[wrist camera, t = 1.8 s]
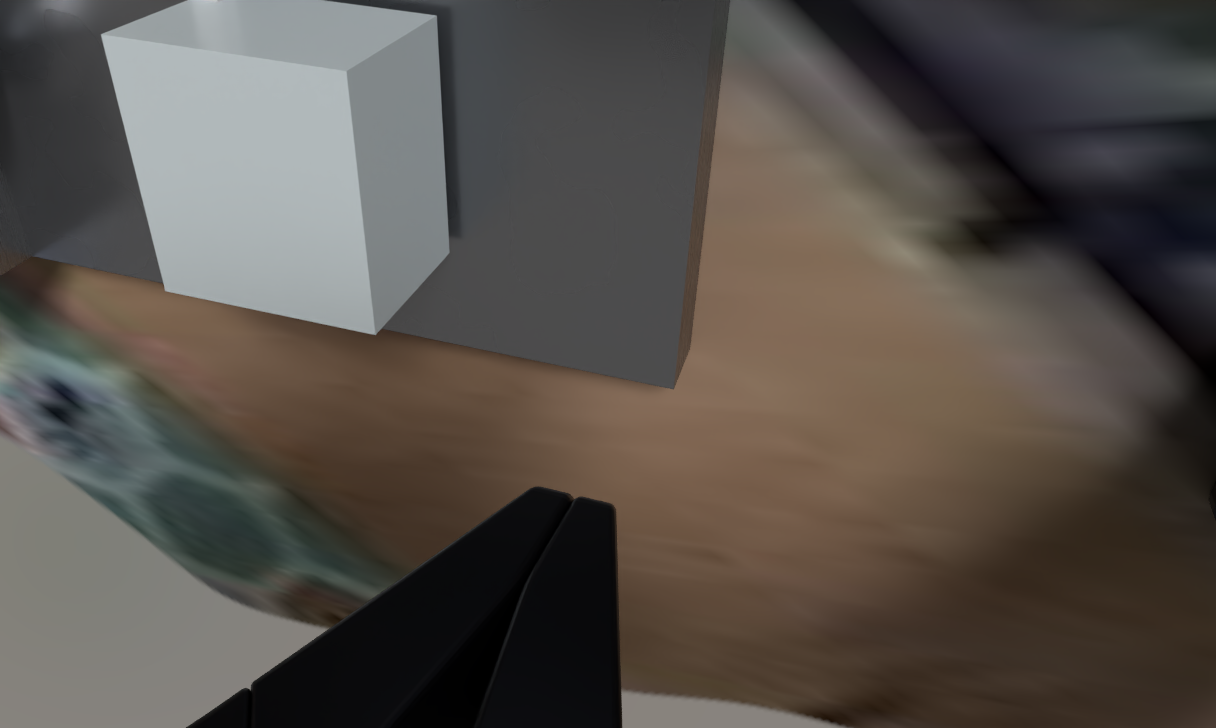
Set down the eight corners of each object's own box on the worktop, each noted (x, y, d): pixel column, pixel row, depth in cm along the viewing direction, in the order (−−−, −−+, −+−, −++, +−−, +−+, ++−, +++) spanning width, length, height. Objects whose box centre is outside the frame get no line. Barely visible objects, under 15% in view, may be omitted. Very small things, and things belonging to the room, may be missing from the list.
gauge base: (753, -205, 14) (679, -169, 11) (689, 348, 20) (627, 507, 16) (-158, -277, 18) (-471, -269, 14) (9, 213, 24) (-179, 317, 20)
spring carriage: (425, -188, 14) (320, -165, 12) (449, 253, 18) (375, 334, 16) (187, -209, 15) (43, -192, 13) (262, 218, 19) (165, 291, 17)
